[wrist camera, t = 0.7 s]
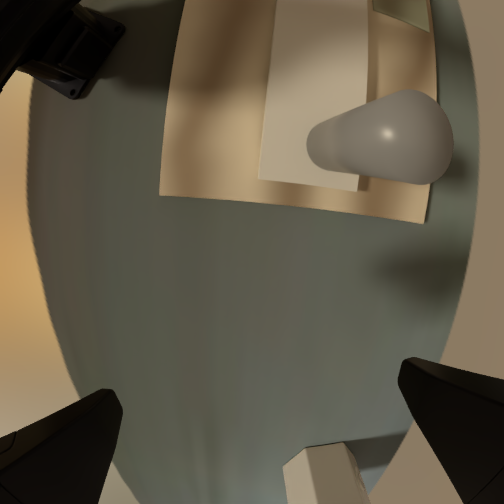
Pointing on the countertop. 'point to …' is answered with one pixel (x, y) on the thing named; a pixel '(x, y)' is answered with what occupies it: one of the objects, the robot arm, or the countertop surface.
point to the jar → (324, 477)
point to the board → (254, 97)
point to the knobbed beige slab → (341, 106)
